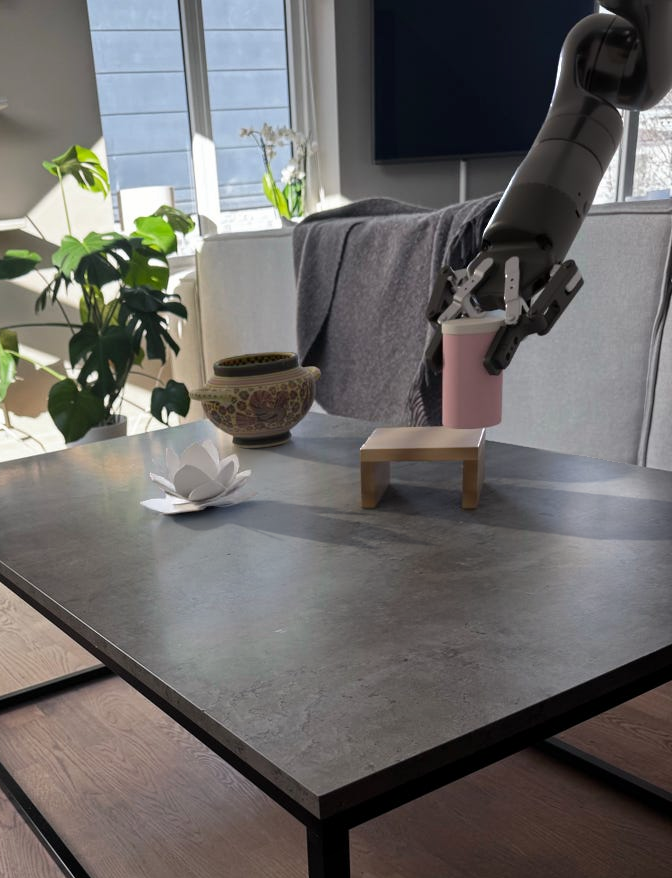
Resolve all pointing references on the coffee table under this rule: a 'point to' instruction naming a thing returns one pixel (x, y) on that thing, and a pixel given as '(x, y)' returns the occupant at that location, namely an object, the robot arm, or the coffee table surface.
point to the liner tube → (470, 374)
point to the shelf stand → (422, 457)
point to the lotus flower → (199, 481)
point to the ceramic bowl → (258, 397)
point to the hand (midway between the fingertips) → (461, 368)
